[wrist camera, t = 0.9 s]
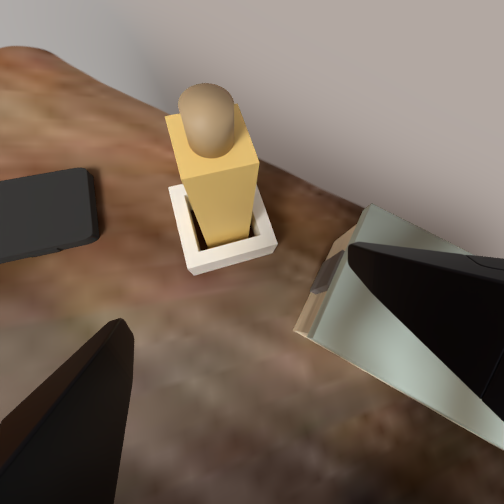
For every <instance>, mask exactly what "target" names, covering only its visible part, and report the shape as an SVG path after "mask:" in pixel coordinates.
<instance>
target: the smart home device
mask: <svg viewBox="0 0 504 504" xmlns="http://www.w3.org/2000/svg"><path fill="white" fill-rule="evenodd" d="M98 239H99V229H98V220H97V210H96V200H95V191H94V181H93V176H92V175H91V174H90V173H89V172H88V171H87V170H86V169H84V168H73V169H67V170H61V171H55V172H50V173H44V174H38V175H33V176H27V177H21V178H16V179H10V180H4V181H0V264H1V263H5V262H10V261H15V260H19V259H24V258H28V257H37V256H41V255H46V254H50V253H55V252H59V251H61V250H64V249H69V248H73V247H78V246H82V245H87V244H90V243H93V242H95V241H97V240H98Z"/></svg>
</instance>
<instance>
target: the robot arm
mask: <svg viewBox="0 0 504 504" xmlns="http://www.w3.org/2000/svg"><path fill="white" fill-rule="evenodd" d="M348 265H349V267H350V268H351V269H352V270H353V272H354V273H355V274H356V275H357V276H358V278H359V279H360V280H361V281H362V282H363V284H364V285H365V286H366V287H367V288H368V290H369V291H370V292H371V293H372V294H373V295H374V296H375V297H376V298H377V299H378V300H379V301H380V302H381V303H382V304H383V305H384V306H385V307H386V308H387V309H388V310H389V311H390V312H391V313H392V314H393V315H394V316H395V317H396V318H397V319H398V320H399V321H400V322H402V323H403V324H404V325H405V326H406V327H407V328H408V329H409V330H410V331H411V332H412V333H413V334H414V335H415V336H416V337H417V338H418V339H419V340H420V341H421V342H422V343H423V344H424V345H425V346H426V347H427V348H428V349H429V350H430V351H431V352H432V353H433V354H434V355H435V356H436V357H437V358H439V359H440V360H441V361H442V362H443V363H444V364H445V365H446V366H447V367H448V368H449V369H450V370H451V371H452V372H453V373H454V374H455V375H456V376H457V377H458V378H459V379H460V380H461V381H462V382H463V383H464V384H465V385H466V386H467V387H468V388H469V389H470V390H471V391H472V392H473V393H474V394H475V395H477V396H478V397H479V398H480V399H482V402H483V403H485V404H486V405H487V406H488V407H489V408H490V409H491V410H492V411H493V412H494V413H495V414H496V415H497V416H498V417H499V418H500V419H501V420H502V421H503V422H504V259H500V258H491V257H483V256H475V255H464V254H458V253H450V252H441V251H433V250H425V249H417V248H408V247H400V246H392V245H384V244H376V243H367V242H355V243H352V244H349V246H348ZM133 362H134V336H133V333H132V332H131V330H130V328H129V327H128V325H127V324H126V322H125V321H124V319H122V318H118V319H115V320H112V321H110V322H108V323H107V324H106V325H105V326H104V327H102V328H101V329H100V330H99V331H98V332H97V333H96V334H95V335H94V336H93V337H92V338H91V339H89V340H88V341H87V342H86V343H85V344H84V345H83V346H82V347H81V348H80V349H79V350H78V351H76V352H75V353H74V354H73V355H72V356H71V357H70V358H69V359H68V360H67V361H66V362H65V363H63V364H62V365H61V366H60V367H59V368H58V369H57V370H56V371H55V372H54V373H53V374H52V375H50V376H49V377H48V378H47V379H46V380H45V381H44V382H43V383H42V384H41V385H40V386H39V387H37V388H36V389H35V390H34V391H33V392H32V393H31V394H30V395H29V396H28V397H27V398H26V399H25V400H23V401H22V402H21V403H20V404H19V405H18V406H17V407H16V408H15V409H14V410H13V411H12V412H10V413H9V414H8V415H7V416H6V417H5V418H4V419H3V420H2V421H1V424H0V504H114V498H115V492H116V485H117V479H118V472H119V466H120V460H121V453H122V447H123V440H124V434H125V427H126V421H127V415H128V408H129V402H130V395H131V389H132V381H133Z"/></svg>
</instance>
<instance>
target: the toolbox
mask: <svg viewBox="0 0 504 504" xmlns="http://www.w3.org/2000/svg"><path fill="white" fill-rule="evenodd" d="M355 242H367V243H376V244H384V245H392V246H400V247H408V248H417V249H425V250H433V251H441V252H450V253H458V254H464V255H473V254H471V253H469V252H467V251H465V250H463V249H461V248H459V247H457V246H455V245H453V244H451V243H449V242H447V241H445V240H443V239H441V238H439V237H437V236H435V235H433V234H431V233H430V232H427V231H426V230H423V229H422V228H420V227H418V226H416V225H414V224H412V223H410V222H408V221H406V220H404V219H402V218H400V217H398V216H396V215H394V214H392V213H390V212H388V211H386V210H384V209H382V208H380V207H378V206H376V205H374V204H370V205H369V206H368V207H367V208H365V209H364V210H363V212H362V214H361V216H360V218H359V221H358V223H357V224H356V225H355V226H354V227H352V228H351V229H350V230H348V231H347V232H346V233H345V234H343V235H342V236H341V237H340V238H338V239H337V240H336V241H334V243H333V245H332V248H331V250H330V252H329V254H328V256H327V258H326V260H325V261H324V262H323V263H322V266H321V268H320V270H319V272H318V274H317V276H316V278H315V280H314V283H313V285H312V287H311V289H310V292H311V293H310V295H309V297H308V299H307V301H306V303H305V305H304V308H303V310H302V312H301V314H300V316H299V318H298V320H297V323H296V325H295V327H294V329H293V330H294V331H295V332H297V333H299V334H300V335H302V336H304V337H306V338H307V339H309V340H311V341H313V342H314V343H316V344H318V345H320V346H321V347H323V348H325V349H327V350H328V351H330V352H332V353H334V354H335V355H337V356H339V357H341V358H342V359H344V360H346V361H348V362H349V363H351V364H353V365H355V366H356V367H358V368H360V369H362V370H363V371H365V372H367V373H369V374H370V375H372V376H374V377H376V378H377V379H379V380H381V381H383V382H384V383H386V384H388V385H389V386H391V387H393V388H395V389H396V390H398V391H400V392H402V393H403V394H405V395H407V396H409V397H410V398H412V399H414V400H416V401H417V402H419V403H421V404H423V405H424V406H426V407H428V408H430V409H431V410H433V411H435V412H437V413H438V414H440V415H442V416H444V417H445V418H447V419H449V420H451V421H452V422H454V423H456V424H458V425H459V426H461V427H463V428H465V429H466V430H468V431H470V432H472V433H473V434H475V435H477V436H478V437H480V438H482V439H484V440H485V441H487V442H489V443H491V444H492V445H494V446H496V447H498V448H499V449H501V450H503V451H504V422H503V421H502V420H501V419H500V418H499V417H498V416H497V415H496V414H495V413H494V412H493V411H492V410H491V409H490V408H489V407H488V406H487V405H486V404H485V403H483V402H482V399H480V398H479V397H478V396H477V395H475V394H474V393H473V392H472V391H471V390H470V389H469V388H468V387H467V386H466V385H465V384H464V383H463V382H462V381H461V380H460V379H459V378H458V377H457V376H456V375H455V374H454V373H453V372H452V371H451V370H450V369H449V368H448V367H447V366H446V365H445V364H444V363H443V362H442V361H441V360H440V359H439V358H437V357H436V356H435V355H434V354H433V353H432V352H431V351H430V350H429V349H428V348H427V347H426V346H425V345H424V344H423V343H422V342H421V341H420V340H419V339H418V338H417V337H416V336H415V335H414V334H413V333H412V332H411V331H410V330H409V329H408V328H407V327H406V326H405V325H404V324H403V323H402V322H400V321H399V320H398V319H397V318H396V317H395V316H394V315H393V314H392V313H391V312H390V311H389V310H388V309H387V308H386V307H385V306H384V305H383V304H382V303H381V302H380V301H379V300H378V299H377V298H376V297H375V296H374V295H373V294H372V293H371V292H370V291H369V290H368V288H367V287H366V286H365V285H364V284H363V282H362V281H361V280H360V279H359V278H358V276H357V275H356V274H355V273H354V272H353V270H352V269H351V268H350V267H349V265H348V246H349V244H352V243H355Z"/></svg>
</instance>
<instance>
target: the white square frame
mask: <svg viewBox="0 0 504 504" xmlns="http://www.w3.org/2000/svg"><path fill="white" fill-rule="evenodd" d="M168 188H169V193H170V197H171V201H172V205H173V209H174V213H175V218H176V222H177V226H178V230H179V234H180V239H181V243H182V247H183V251H184V255H185V260H186V264H187V268H188V270H189V271H190V272H191V273H192V274H193V275H198V274H201V273H205V272H208V271H212V270H215V269H219V268H222V267H226V266H229V265H233V264H237V263H240V262H244V261H247V260H251V259H254V258H258V257H261V256H265V255H268V254H272V253H273V252H274V250H275V248H276V246H277V244H278V243H277V240H276V237H275V235H274V232H273V229H272V226H271V223H270V221H269V218H268V215H267V212H266V209H265V206H264V204H263V201H262V198H261V195H260V192H259V190H258V187H257V184H256V189H255V196H254V203H253V209H252V216H251V223H250V224H251V227H252V230H253V233H254V236H255V237H252V238H248V239H244V240H240V241H237V242H233V243H229V244H226V245H222V246H218V247H215V248H211V249H207V250H203V251H201V249H200V245H199V241H198V238H197V234H196V230H195V226H194V222H193V218H192V214H191V211H190V210H193V208H192V206H191V203H190V201H189V198H188V195H187V193H186V190H185V188H184V185H183V184H181V185H176V186H172V187H168Z"/></svg>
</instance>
